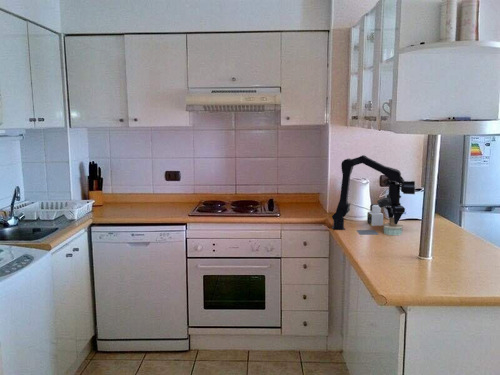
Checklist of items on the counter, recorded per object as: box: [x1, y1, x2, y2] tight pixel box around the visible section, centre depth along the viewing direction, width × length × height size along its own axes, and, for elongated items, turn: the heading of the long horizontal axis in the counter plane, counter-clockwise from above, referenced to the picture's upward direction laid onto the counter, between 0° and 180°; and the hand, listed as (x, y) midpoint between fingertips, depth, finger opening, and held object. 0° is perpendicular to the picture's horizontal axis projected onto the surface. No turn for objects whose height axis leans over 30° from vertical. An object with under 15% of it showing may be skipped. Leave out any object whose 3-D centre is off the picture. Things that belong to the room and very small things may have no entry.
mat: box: [356, 229, 380, 236], centre depth 236 cm, size 10×10×1 cm
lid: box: [382, 216, 404, 229], centre depth 233 cm, size 10×10×5 cm
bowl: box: [383, 227, 403, 236], centre depth 234 cm, size 9×9×4 cm
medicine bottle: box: [366, 203, 384, 227], centre depth 254 cm, size 7×7×12 cm
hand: (393, 222), depth 233 cm, fingers open, 9 cm apart
